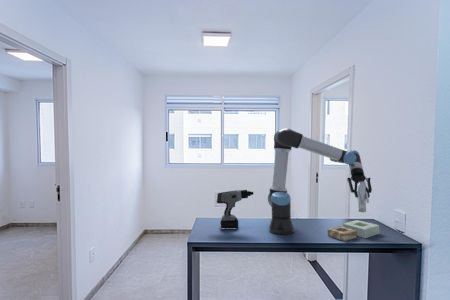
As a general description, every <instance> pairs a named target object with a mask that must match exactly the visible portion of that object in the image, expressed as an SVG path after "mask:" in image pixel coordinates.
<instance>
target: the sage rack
mask: <svg viewBox="0 0 450 300" xmlns="http://www.w3.org/2000/svg"><path fill="white" fill-rule="evenodd" d="M342 227H346V228H349V229H353V230H357V237H359V238H363V239H367V238H370V237H373V236H376V235H380V225H379V224H375V223H371V222H367V221H362V220H358V219H356V220H352V221H347V222H344V223H342Z"/></svg>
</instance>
